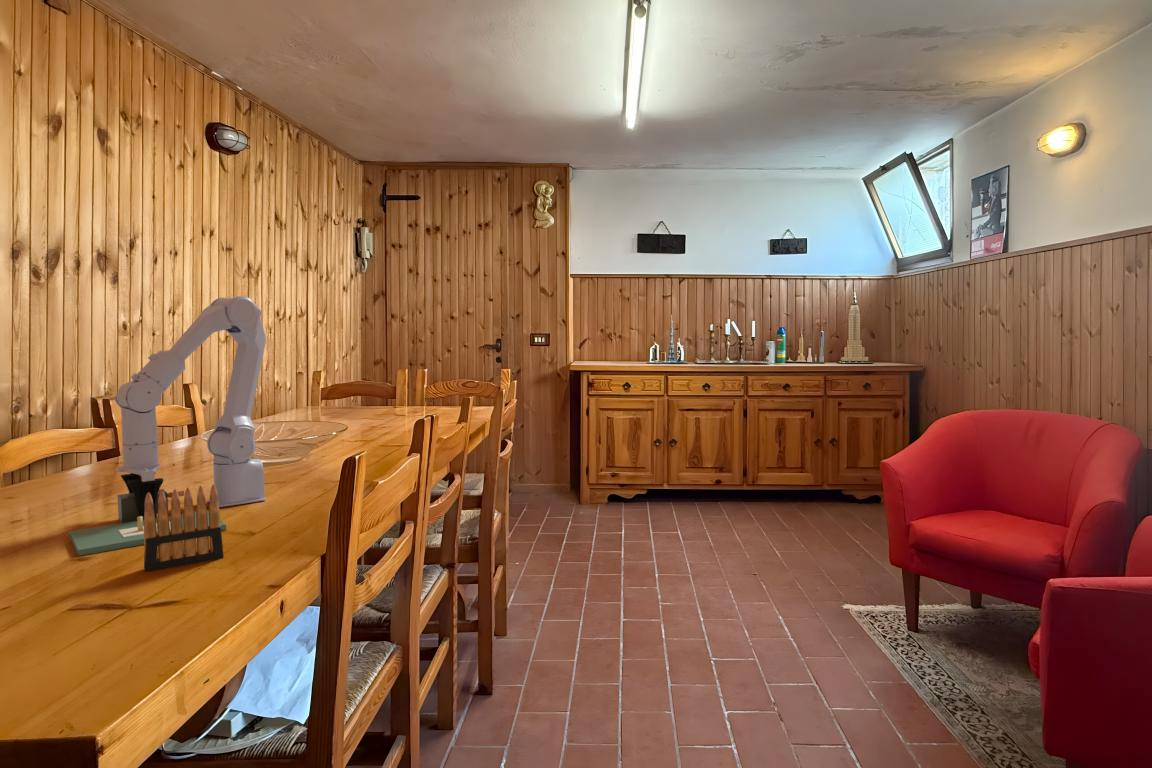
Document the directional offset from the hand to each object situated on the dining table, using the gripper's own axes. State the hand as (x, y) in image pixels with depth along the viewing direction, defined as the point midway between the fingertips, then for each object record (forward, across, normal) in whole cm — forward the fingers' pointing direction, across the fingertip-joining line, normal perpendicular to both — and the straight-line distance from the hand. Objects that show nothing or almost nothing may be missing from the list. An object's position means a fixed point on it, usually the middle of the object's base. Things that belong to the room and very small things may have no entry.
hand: (143, 511), depth 130 cm
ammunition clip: (+2, +34, 0) cm, 34 cm away
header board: (+1, +12, -1) cm, 12 cm away
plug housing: (+1, 0, +2) cm, 2 cm away
